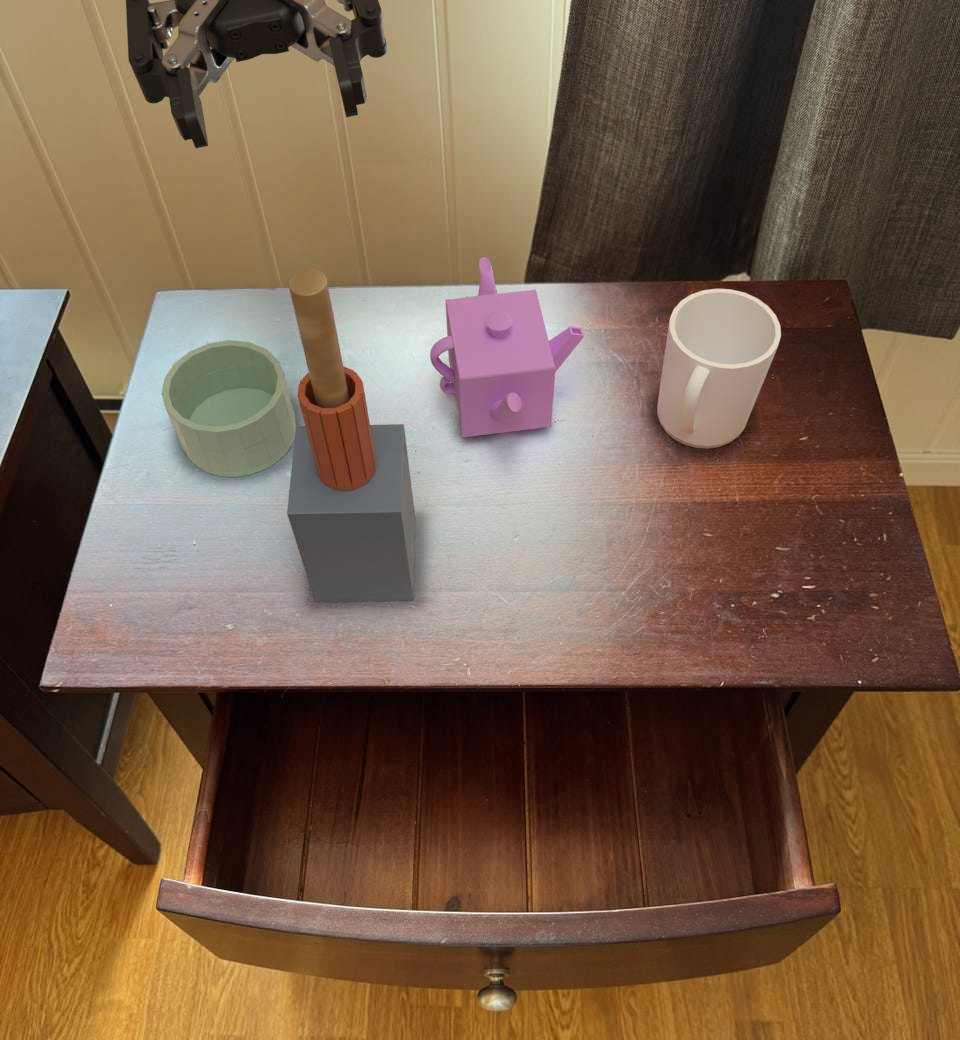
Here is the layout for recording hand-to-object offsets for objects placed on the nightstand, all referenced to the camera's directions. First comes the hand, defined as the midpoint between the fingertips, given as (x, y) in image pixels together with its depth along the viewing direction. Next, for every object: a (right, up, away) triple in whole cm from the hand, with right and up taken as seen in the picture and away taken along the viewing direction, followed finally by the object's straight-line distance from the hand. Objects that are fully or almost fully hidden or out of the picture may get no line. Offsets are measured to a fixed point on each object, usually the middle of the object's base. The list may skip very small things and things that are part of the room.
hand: (273, 119), depth 53 cm
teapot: (+14, -7, +35) cm, 38 cm away
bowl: (-10, -10, +34) cm, 37 cm away
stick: (+2, -16, +16) cm, 23 cm away
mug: (+31, -9, +34) cm, 47 cm away
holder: (+2, -22, +27) cm, 35 cm away
